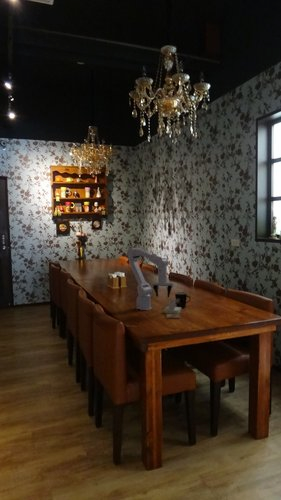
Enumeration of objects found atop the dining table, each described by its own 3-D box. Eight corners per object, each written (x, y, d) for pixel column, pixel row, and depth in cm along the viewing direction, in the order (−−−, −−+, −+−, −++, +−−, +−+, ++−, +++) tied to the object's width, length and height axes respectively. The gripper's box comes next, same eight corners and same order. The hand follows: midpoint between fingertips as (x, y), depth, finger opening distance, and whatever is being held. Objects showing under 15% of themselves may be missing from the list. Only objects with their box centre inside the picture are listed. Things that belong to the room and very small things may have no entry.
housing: (170, 306, 229) (170, 299, 228) (176, 307, 227) (176, 299, 227) (168, 309, 222) (168, 301, 222) (174, 309, 221) (174, 301, 220)
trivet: (166, 318, 207) (166, 317, 207) (166, 315, 215) (166, 314, 215) (179, 318, 207) (179, 317, 207) (178, 315, 215) (178, 313, 215)
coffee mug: (172, 306, 239) (172, 292, 239) (183, 305, 242) (183, 291, 242) (180, 309, 229) (180, 295, 228) (191, 308, 232) (191, 294, 231)
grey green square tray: (163, 312, 221) (163, 309, 221) (167, 309, 231) (167, 306, 231) (178, 313, 218) (178, 310, 218) (181, 310, 228) (181, 307, 228)
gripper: (150, 277, 220) (150, 297, 221) (171, 277, 216) (172, 298, 217) (153, 275, 227) (153, 295, 228) (174, 276, 223) (174, 296, 223)
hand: (162, 296), depth 223 cm, fingers open, 7 cm apart
